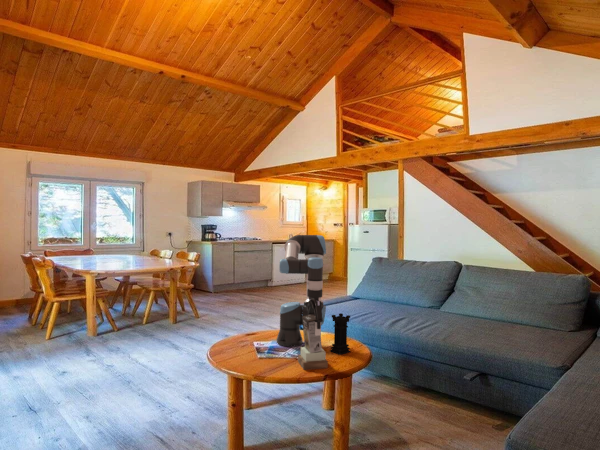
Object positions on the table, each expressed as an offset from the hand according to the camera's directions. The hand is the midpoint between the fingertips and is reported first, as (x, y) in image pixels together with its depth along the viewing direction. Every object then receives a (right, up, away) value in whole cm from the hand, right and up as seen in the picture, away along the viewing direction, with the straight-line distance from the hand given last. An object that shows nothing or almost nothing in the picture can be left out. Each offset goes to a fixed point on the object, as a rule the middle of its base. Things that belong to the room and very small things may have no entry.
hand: (314, 331), depth 203 cm
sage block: (-1, -13, +1) cm, 13 cm away
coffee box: (0, -9, 0) cm, 9 cm away
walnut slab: (-1, -17, 0) cm, 17 cm away
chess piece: (+15, -17, +21) cm, 31 cm away
